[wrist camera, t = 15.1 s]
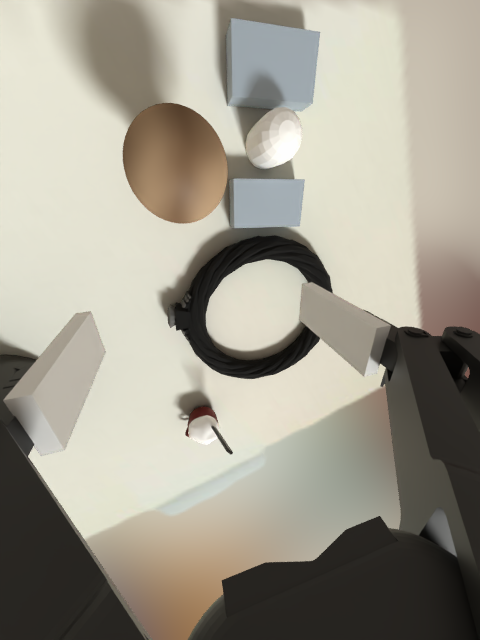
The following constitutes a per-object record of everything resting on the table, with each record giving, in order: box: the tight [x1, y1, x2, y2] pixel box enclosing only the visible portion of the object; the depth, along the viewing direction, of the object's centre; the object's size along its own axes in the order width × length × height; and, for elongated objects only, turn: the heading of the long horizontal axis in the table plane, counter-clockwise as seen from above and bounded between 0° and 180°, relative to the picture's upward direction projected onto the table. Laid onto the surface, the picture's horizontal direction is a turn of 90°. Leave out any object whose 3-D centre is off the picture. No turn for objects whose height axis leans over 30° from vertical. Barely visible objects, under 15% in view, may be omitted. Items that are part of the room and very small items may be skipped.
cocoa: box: [186, 406, 233, 454], centre depth 46 cm, size 10×6×12 cm, turn 102°
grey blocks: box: [226, 18, 320, 228], centre depth 31 cm, size 10×20×3 cm, turn 0°
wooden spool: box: [123, 103, 228, 223], centre depth 26 cm, size 10×10×12 cm
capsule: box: [246, 107, 302, 169], centre depth 28 cm, size 5×5×8 cm
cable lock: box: [168, 236, 333, 379], centre depth 42 cm, size 28×4×30 cm
